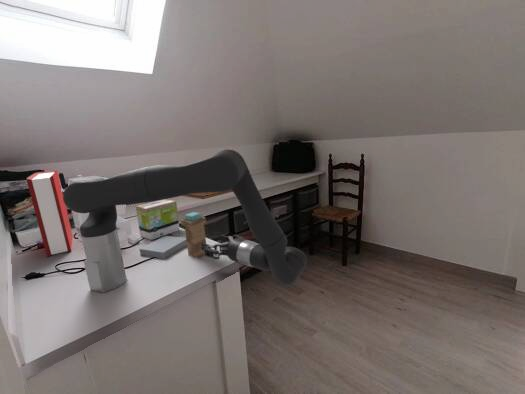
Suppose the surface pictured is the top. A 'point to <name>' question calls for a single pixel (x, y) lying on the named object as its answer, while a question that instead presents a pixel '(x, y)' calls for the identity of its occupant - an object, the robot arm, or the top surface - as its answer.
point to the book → (50, 211)
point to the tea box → (157, 219)
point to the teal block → (193, 217)
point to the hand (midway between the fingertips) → (211, 241)
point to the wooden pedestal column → (195, 236)
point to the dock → (163, 247)
